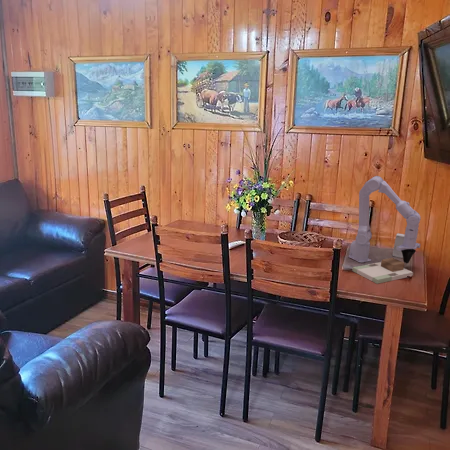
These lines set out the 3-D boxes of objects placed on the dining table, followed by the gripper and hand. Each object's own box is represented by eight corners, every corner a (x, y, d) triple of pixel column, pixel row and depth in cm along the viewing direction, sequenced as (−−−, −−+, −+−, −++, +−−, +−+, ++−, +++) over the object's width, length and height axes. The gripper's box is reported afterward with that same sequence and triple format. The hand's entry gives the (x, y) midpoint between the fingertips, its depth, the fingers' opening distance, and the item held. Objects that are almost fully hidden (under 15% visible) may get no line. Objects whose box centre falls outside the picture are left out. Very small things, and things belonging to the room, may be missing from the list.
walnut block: (380, 266, 218) (381, 259, 217) (391, 264, 222) (392, 257, 221) (392, 271, 212) (393, 265, 211) (403, 269, 215) (404, 262, 214)
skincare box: (391, 256, 239) (395, 234, 235) (393, 253, 243) (396, 232, 239) (403, 258, 236) (407, 237, 232) (405, 256, 240) (408, 235, 236)
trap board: (352, 271, 216) (352, 267, 215) (386, 264, 226) (387, 260, 226) (377, 283, 202) (377, 279, 202) (412, 276, 213) (413, 272, 212)
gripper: (406, 241, 210) (402, 267, 214) (427, 237, 217) (422, 263, 221) (395, 236, 216) (390, 262, 220) (415, 233, 223) (410, 258, 227)
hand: (405, 262), depth 221 cm, fingers closed
